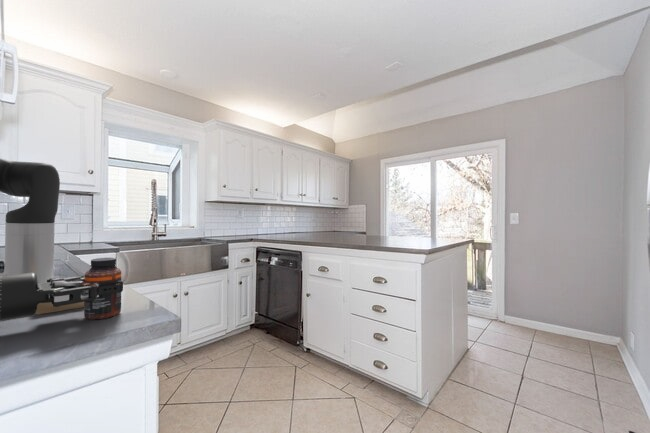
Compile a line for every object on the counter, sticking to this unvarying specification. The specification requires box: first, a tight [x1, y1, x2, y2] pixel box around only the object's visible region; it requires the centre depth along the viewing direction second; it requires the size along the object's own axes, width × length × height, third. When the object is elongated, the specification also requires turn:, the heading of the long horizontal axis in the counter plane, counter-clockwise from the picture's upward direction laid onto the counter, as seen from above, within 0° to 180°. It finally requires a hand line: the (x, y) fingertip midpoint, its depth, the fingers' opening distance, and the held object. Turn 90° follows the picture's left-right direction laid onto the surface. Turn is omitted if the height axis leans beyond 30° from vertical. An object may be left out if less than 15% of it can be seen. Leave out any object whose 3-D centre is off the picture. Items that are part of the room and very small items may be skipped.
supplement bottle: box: [83, 257, 122, 320], centre depth 59 cm, size 6×6×11 cm
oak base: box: [36, 302, 84, 315], centre depth 64 cm, size 8×8×3 cm
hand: (118, 283), depth 61 cm, fingers closed on supplement bottle, 6 cm apart
